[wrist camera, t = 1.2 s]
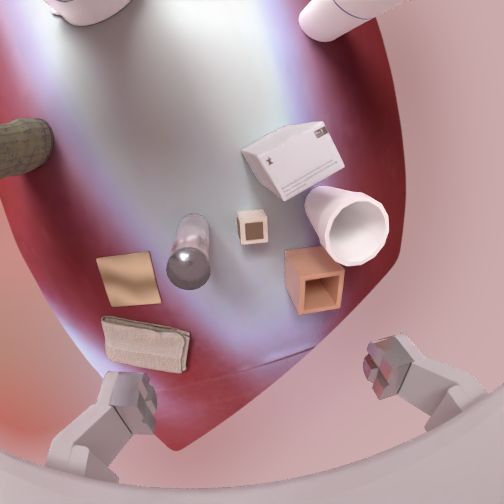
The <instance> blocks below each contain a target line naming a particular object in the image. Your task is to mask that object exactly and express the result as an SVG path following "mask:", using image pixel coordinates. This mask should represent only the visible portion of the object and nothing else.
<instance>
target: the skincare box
mask: <svg viewBox="0 0 504 504" xmlns="http://www.w3.org/2000/svg"><path fill="white" fill-rule="evenodd" d="M241 152H242V154H243V156H244V157H245V159H246V161H247V163H248V164H249V166H250V168H251V169H252V171H253V173H254V175H255V176H256V178H257V180H258V181H259V182H260V183H261V184H262V185H264V186H265V187H266V188H268V189H269V190H270V191H271V192H272V193H274V194H275V195H276V196H278V197H279V198H280V199H281V200H283V201H284V202H285V201H287V200H289V199H291V198H292V197H294V196H296V195H297V194H299V193H301V192H303V191H304V190H306V189H308V188H310V187H311V186H313V185H315V184H317V183H318V182H320V181H322V180H323V179H325V178H327V177H329V176H330V175H332V174H334V173H335V172H337V171H339V170H341V169H342V168H344V167H345V166H344V164H343V161H342V159H341V157H340V155H339V153H338V151H337V149H336V147H335V145H334V143H333V141H332V139H331V137H330V135H329V132H328V130H327V128H326V126H325V124H324V122H323V121H320V122H310V123H302V124H294V125H287V126H283V127H280V128H278V129H276V130H274V131H273V132H271V133H269V134H267V135H265V136H264V137H262V138H260V139H258V140H257V141H255V142H253V143H252V144H250V145H249V146H247V147H245V148H243V149H241Z"/></svg>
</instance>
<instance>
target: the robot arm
mask: <svg viewBox="0 0 504 504" xmlns="http://www.w3.org/2000/svg"><path fill="white" fill-rule="evenodd" d="M44 1H45V2H46V3H47V4H48V5H50V6H51V7H50V11H51V12H52V13H53V14H55V15H61V16H63V17H64V19H65V20H66V21H67V22H69V23H70V24H73V25H77V26H86V25H91V24H95V23H98V22H101V21H103V20H105V19H107V18H109V17H111V16H112V15H114V14H115V13H117V12H118V11H120V10H121V9H122V8H123V7H124V6H126V5H127V4H128V3H129V2H130V1H131V0H44ZM367 351H368V352H369V354H368V355H367V356H366V357H365V358H364V362H363V369H364V374H365V376H366V378H367V380H368V381H370V382H372V383H373V390H374V392H375V393H376V395H377V397H378V399H379V400H381V399H385V398H388V397H391V396H394V395H397V394H398V396H400V397H401V398H403V399H404V400H406V401H407V402H409V403H410V404H412V405H414V406H415V407H417V408H418V409H420V410H422V411H423V412H425V413H427V414H428V415H430V416H431V417H430V419H429V420H428V422H427V423H426V425H425V429H426V431H427V432H426V433H424V434H422V435H420V436H418V437H416V438H414V439H411V440H409V441H407V442H405V443H403V444H400V445H398V446H396V447H393V448H391V449H389V450H386V451H384V452H381V453H379V454H376V455H373V456H371V457H368V458H365V459H362V460H359V461H356V462H353V463H350V464H347V465H344V466H340V467H337V468H334V469H330V470H327V471H323V472H319V473H315V474H311V475H306V476H302V477H297V478H292V479H287V480H282V481H276V482H270V483H262V484H255V485H247V486H236V487H223V488H198V489H180V488H158V487H145V486H135V485H126V484H119V483H118V482H119V478H118V476H117V475H116V474H115V473H114V472H112V471H111V470H110V469H109V468H108V466H109V464H111V462H112V461H113V460H114V458H115V457H116V456H117V455H118V453H119V452H120V451H121V450H122V448H123V447H124V446H125V444H126V443H127V442H128V441H129V439H130V438H131V437H132V434H145V435H146V434H147V435H148V434H149V435H154V428H155V419H154V417H153V414H154V413H155V412H156V410H157V397H156V393H155V390H154V388H153V386H151V385H150V384H149V381H150V378H149V376H148V374H147V373H145V372H111V371H108V372H107V373H106V374H105V376H104V380H103V383H102V386H101V389H100V392H99V395H98V399H97V402H96V405H94V404H92V405H91V406H90V407H89V408H88V409H86V410H85V411H84V412H83V413H82V414H81V415H80V416H78V417H77V418H76V419H75V420H74V421H73V422H71V423H70V425H68V426H67V427H66V428H65V429H64V430H62V431H61V432H60V433H59V434H58V435H56V436H55V437H54V438H53V440H52V443H51V446H50V450H49V453H48V457H47V460H46V464H45V466H42V465H39V464H36V463H33V462H31V461H28V460H25V459H22V458H20V457H17V456H15V455H12V454H10V453H8V452H5V451H3V450H1V449H0V504H504V383H503V384H502V385H501V386H500V387H498V388H497V389H496V390H494V391H493V392H491V393H490V394H488V393H487V392H486V390H485V389H484V388H483V387H482V386H481V384H480V383H479V382H478V381H477V380H476V378H475V377H474V376H473V375H472V374H469V373H467V372H464V371H462V370H459V369H457V368H454V367H451V366H449V365H447V364H444V363H442V362H439V361H437V360H434V359H432V358H430V357H424V356H423V355H422V353H421V352H420V351H419V350H418V348H417V347H416V346H415V345H414V344H413V343H412V341H411V340H410V339H409V338H408V337H407V335H406V334H404V333H400V334H397V335H394V336H390V337H387V338H384V339H379V340H376V341H373V342H370V343H369V344H368V347H367Z"/></svg>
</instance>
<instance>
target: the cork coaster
mask: <svg viewBox="0 0 504 504" xmlns="http://www.w3.org/2000/svg"><path fill="white" fill-rule="evenodd" d="M96 261H97V265H98V268H99V271H100V274H101V277H102V280H103V283H104V286H105V289H106V292H107V295H108V298H109V301H110V304H111V306H112V307H119V306H132V305H144V304H156V303H161V298H160V294H159V290H158V287H157V283H156V279H155V274H154V270H153V266H152V262H151V257H150V253H149V252H141V253H133V254H125V255H117V256H109V257H101V258H96Z"/></svg>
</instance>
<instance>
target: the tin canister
mask: <svg viewBox="0 0 504 504" xmlns="http://www.w3.org/2000/svg"><path fill="white" fill-rule="evenodd" d="M166 271H167V276H168V278H169V280H170V281H171V282H172V283H173V284H174V285H175V286H177V287H179V288H181V289H185V290H193V289H197V288H200V287H201V286H203V285H204V284H205V283H206V282H207V280H208V279H209V276H210V262H209V224H208V222H207V220H206V219H205V218H204V217H202V216H201V215H198V214H190V215H187V216H185V217H184V218H183V219H182V220H181V222H180V224H179V228H178V231H177V234H176V238H175V241H174V245H173V248H172V252H171V256H170V258H169V260H168V263H167V268H166Z"/></svg>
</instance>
